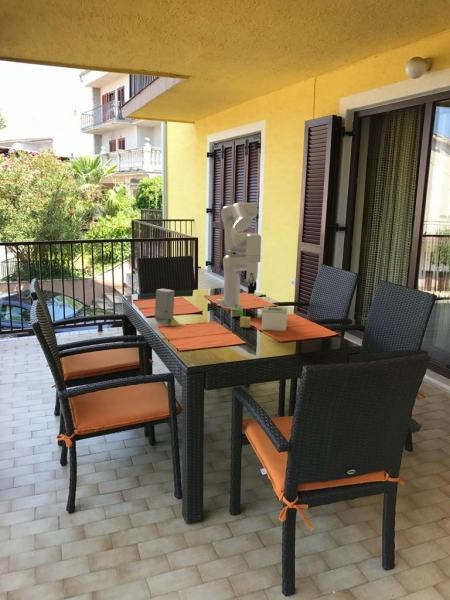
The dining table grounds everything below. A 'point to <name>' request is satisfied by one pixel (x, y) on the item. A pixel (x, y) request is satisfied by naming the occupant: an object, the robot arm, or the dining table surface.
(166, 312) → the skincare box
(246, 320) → the tan wooden block
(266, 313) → the box
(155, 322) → the dining table surface
